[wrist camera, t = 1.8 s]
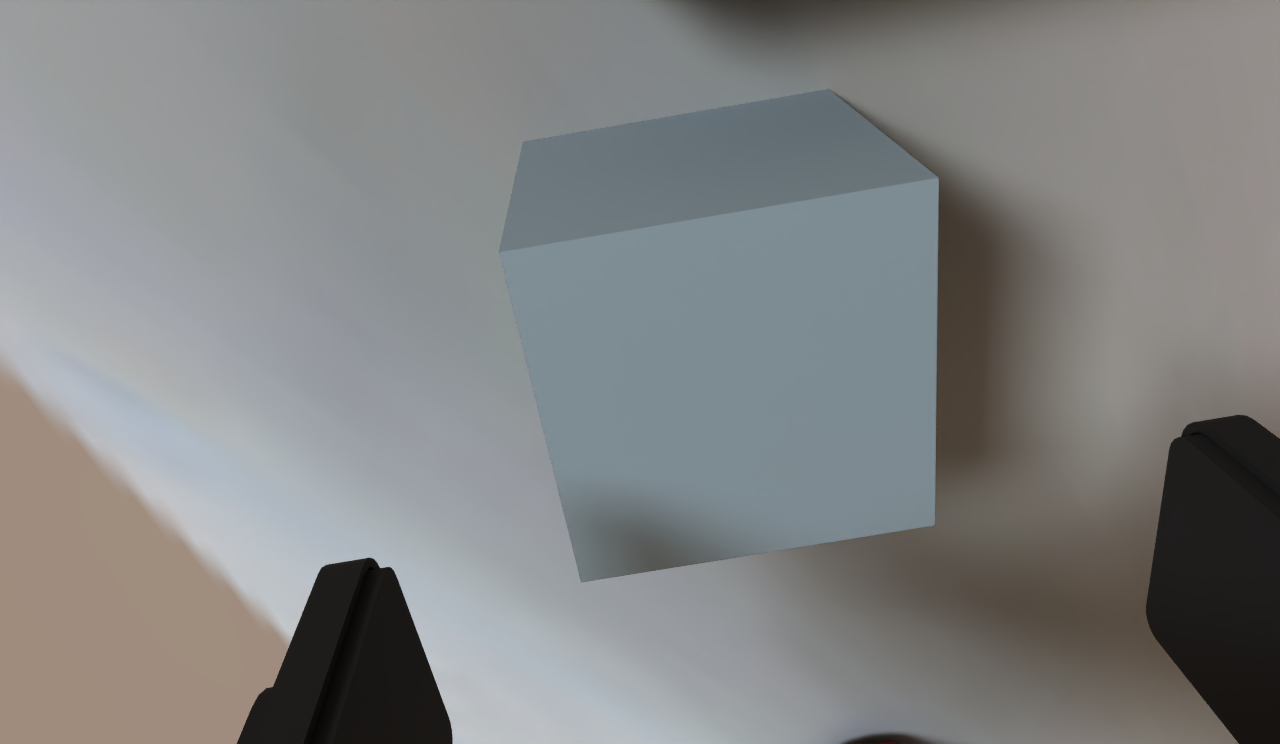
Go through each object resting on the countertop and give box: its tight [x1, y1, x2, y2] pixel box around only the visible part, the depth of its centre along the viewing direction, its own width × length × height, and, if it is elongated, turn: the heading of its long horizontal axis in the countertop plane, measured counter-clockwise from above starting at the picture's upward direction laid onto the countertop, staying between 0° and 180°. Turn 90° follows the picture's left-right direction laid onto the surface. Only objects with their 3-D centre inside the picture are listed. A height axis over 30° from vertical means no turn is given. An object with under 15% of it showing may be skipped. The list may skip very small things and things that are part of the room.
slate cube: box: [499, 89, 939, 582], centre depth 16 cm, size 6×6×6 cm
